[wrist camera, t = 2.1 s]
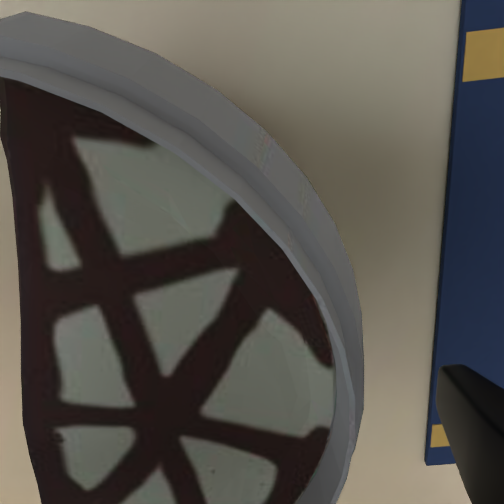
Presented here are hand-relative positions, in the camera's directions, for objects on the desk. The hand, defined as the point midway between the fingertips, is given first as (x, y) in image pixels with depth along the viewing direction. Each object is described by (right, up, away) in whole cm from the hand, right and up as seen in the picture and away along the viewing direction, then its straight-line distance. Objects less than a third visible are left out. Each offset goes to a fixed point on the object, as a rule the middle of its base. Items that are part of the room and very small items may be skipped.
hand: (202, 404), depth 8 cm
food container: (0, +4, +8) cm, 9 cm away
